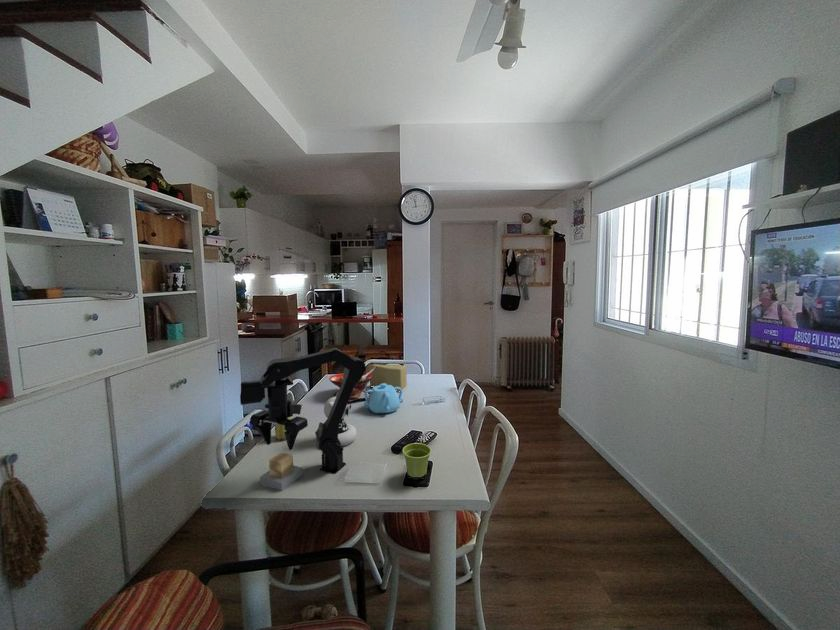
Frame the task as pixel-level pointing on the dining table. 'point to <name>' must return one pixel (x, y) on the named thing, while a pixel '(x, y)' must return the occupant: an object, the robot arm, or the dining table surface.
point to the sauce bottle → (280, 431)
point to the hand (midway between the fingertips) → (279, 446)
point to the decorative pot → (383, 398)
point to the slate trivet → (281, 479)
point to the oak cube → (281, 465)
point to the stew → (358, 387)
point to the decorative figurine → (342, 424)
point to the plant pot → (416, 459)
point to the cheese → (389, 375)
